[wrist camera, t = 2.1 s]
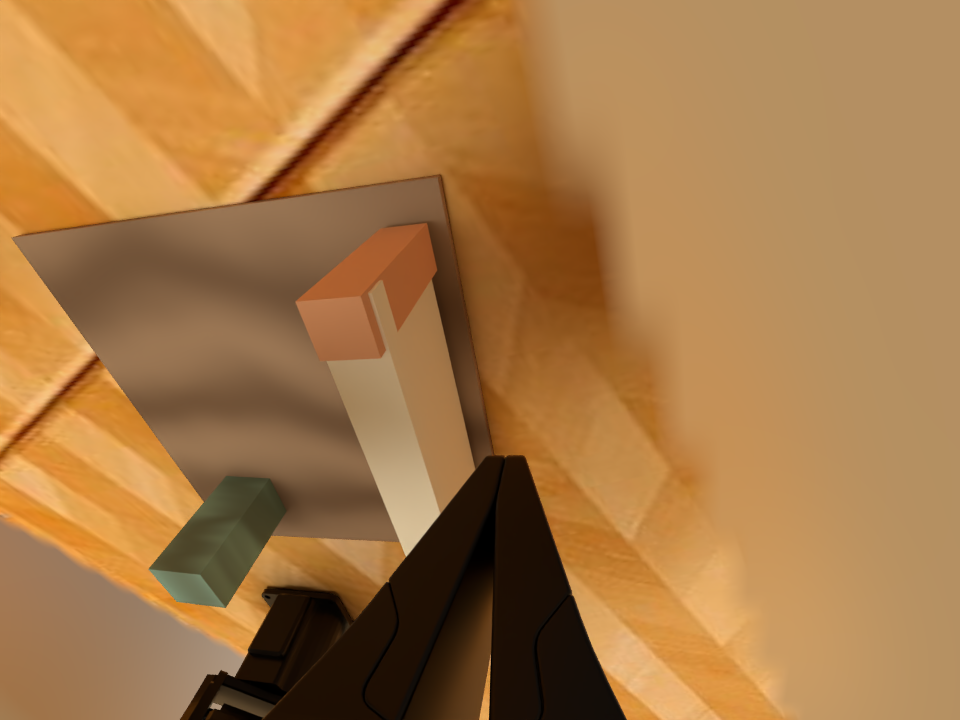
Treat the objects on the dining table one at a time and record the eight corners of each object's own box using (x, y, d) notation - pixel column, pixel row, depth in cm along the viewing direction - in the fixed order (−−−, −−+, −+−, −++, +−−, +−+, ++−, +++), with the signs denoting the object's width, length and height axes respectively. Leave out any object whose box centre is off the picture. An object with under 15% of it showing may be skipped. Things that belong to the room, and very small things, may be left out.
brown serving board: (510, 541, 27) (489, 724, 19) (230, 528, 31) (124, 672, 24) (440, 174, 16) (326, 271, 8) (20, 234, 20) (-303, 332, 12)
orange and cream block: (487, 492, 23) (466, 611, 18) (451, 491, 24) (420, 607, 19) (429, 222, 16) (364, 296, 11) (378, 228, 16) (291, 301, 11)
